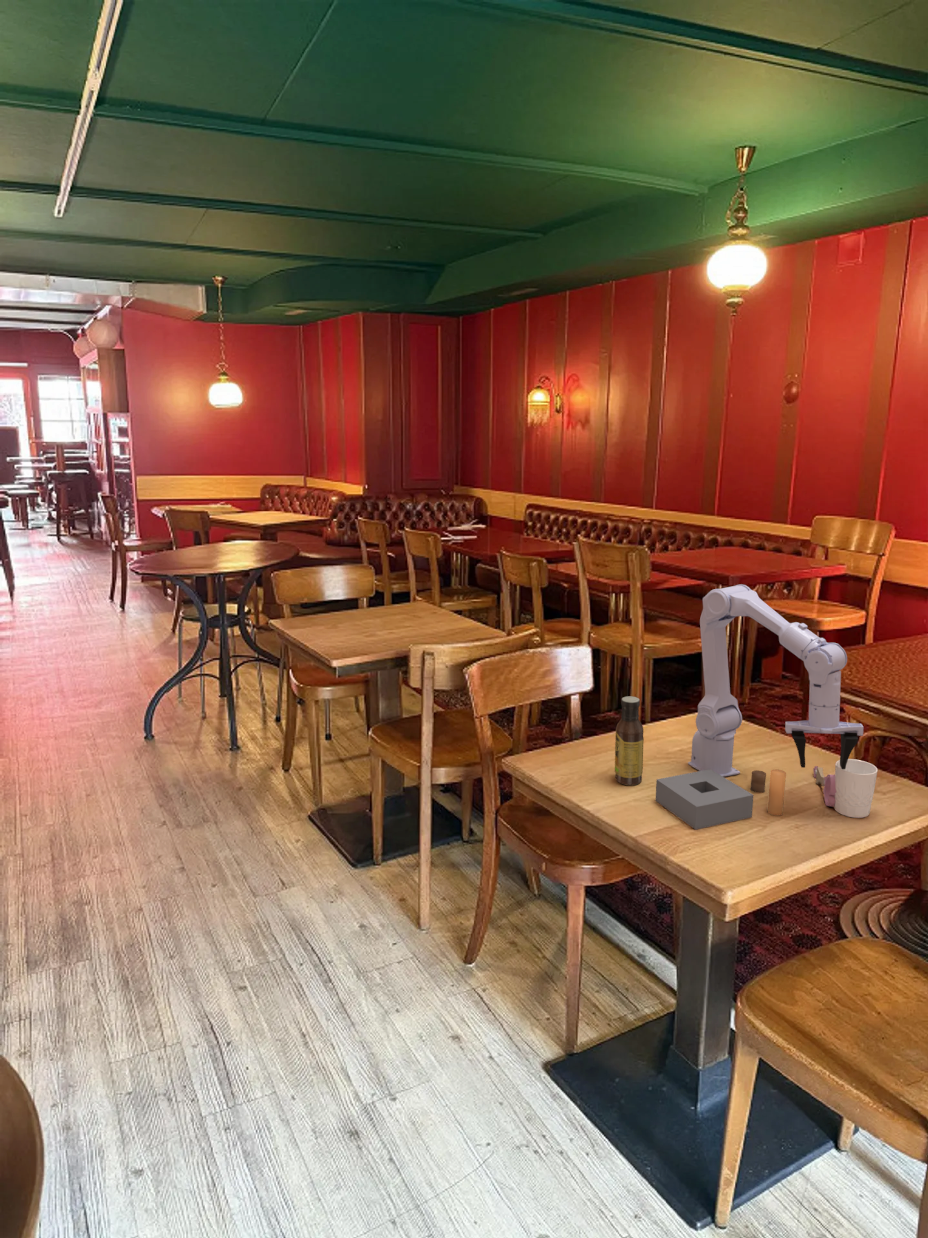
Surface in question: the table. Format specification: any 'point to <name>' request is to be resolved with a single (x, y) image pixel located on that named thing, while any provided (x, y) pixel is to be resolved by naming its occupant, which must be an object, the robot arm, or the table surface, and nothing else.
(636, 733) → the sauce bottle
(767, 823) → the table surface
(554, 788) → the table surface
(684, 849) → the table surface
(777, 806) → the long peg
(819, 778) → the decorative key
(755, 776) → the short peg
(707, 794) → the bored block
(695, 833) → the table surface
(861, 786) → the white cup
